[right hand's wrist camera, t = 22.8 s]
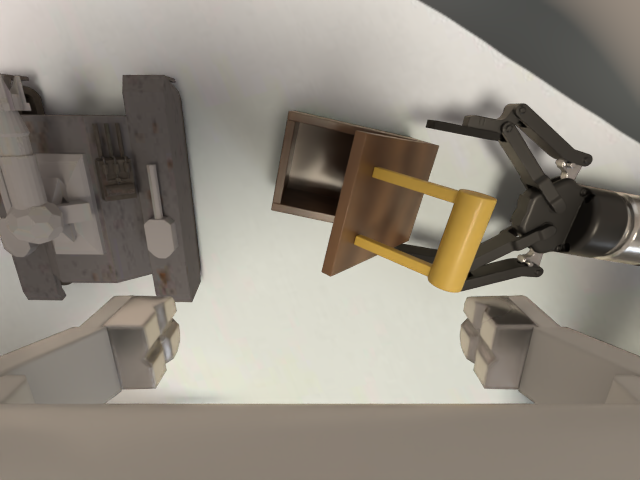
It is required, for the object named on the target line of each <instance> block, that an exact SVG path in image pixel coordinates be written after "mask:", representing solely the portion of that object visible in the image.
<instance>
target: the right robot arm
mask: <svg viewBox="0 0 640 480" xmlns="http://www.w3.org/2000/svg"><path fill="white" fill-rule="evenodd" d="M176 311H177V310H176V305H175V300H174V299H173V298H172V297H170V296H134V295H132V296H114V297H113V298H111V299H110V300H109V301H108V302H107V303H106V304H105V305H104V306H102V307H101V308H100V309H99V310H98V311H97V312H96V313H95V314H93V315H92V316H91V317H90V318H89V319H88V320H87V321H86V322H84V323H83V324H82V325H81V326H80V327H72V328H70V329H67V330H65V331H62V332H60V333H57V334H55V335H52V336H50V337H47V338H45V339H42V340H40V341H37V342H35V343H32V344H30V345H27V346H25V347H22V348H20V349H17V350H15V351H12V352H10V353H7V354H5V355H2V356H0V480H640V356H638V355H635V354H633V353H630V352H628V351H625V350H623V349H620V348H618V347H615V346H613V345H610V344H608V343H605V342H603V341H600V340H598V339H595V338H593V337H590V336H588V335H585V334H583V333H580V332H578V331H575V330H573V329H570V328H568V327H560V326H559V325H558V324H557V323H556V322H555V321H553V320H552V319H551V318H550V317H549V316H548V315H547V314H546V313H544V312H543V311H542V310H541V309H540V308H539V307H538V306H537V305H535V304H534V303H533V302H532V301H531V300H530V299H529V298H528V297H526V296H522V295H519V296H477V297H467V299H466V301H465V304H464V310H463V311H464V313H465V314H466V316H467V317H468V318H467V319H466V320H465V321H464V322H463V323H462V324H461V330H460V342H461V347H462V350H463V353H464V355H465V357H466V358H467V359H468V360H470V361H471V362H473V363H474V372H475V374H476V375H477V377H478V379H479V380H480V382H481V384H482V385H483V387H484V389H519V390H518V391H519V392H521V393H522V394H523V395H525V396H526V397H527V398H529V399H530V400H531V401H533V402H534V403H535V404H105V403H106V402H107V401H109V400H110V399H112V398H113V397H114V396H116V395H117V394H118V393H120V392H121V389H155V388H156V387H157V385H158V384H159V382H160V380H161V379H162V377H163V375H164V374H165V372H166V363H167V362H169V361H170V360H172V359H173V358H174V357H175V355H176V353H177V351H178V347H179V343H180V329H179V324H178V323H177V322H176V321H175V320H174V319H173V318H172V317H173V316H174V314H175V313H176Z"/></svg>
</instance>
